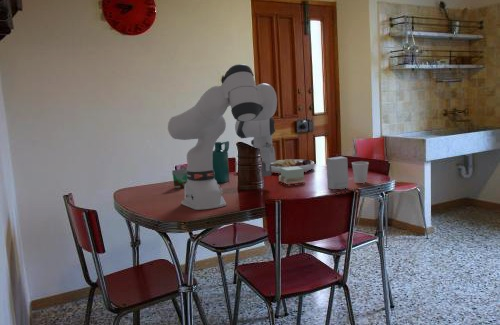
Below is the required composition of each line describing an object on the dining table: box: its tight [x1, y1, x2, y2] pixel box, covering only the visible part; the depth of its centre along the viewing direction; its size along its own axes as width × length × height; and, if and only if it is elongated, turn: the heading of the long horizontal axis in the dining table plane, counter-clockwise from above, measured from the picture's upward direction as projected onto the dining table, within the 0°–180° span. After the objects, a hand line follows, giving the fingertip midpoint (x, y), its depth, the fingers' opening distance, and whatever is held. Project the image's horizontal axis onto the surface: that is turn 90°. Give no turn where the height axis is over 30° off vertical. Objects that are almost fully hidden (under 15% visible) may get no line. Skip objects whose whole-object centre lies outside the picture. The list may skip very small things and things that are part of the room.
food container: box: [171, 166, 188, 190], centre depth 229 cm, size 12×6×10 cm, turn 168°
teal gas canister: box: [212, 140, 230, 184], centre depth 239 cm, size 10×8×22 cm
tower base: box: [278, 175, 306, 184], centre depth 227 cm, size 10×10×4 cm
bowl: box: [271, 158, 315, 173], centre depth 265 cm, size 30×30×8 cm
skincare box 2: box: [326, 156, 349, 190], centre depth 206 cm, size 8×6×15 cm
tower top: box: [280, 167, 305, 178], centre depth 226 cm, size 9×9×4 cm
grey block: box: [261, 161, 273, 177], centre depth 215 cm, size 5×5×6 cm
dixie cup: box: [351, 161, 370, 183], centre depth 218 cm, size 8×8×10 cm
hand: (264, 169), depth 215 cm, fingers closed on grey block, 5 cm apart
